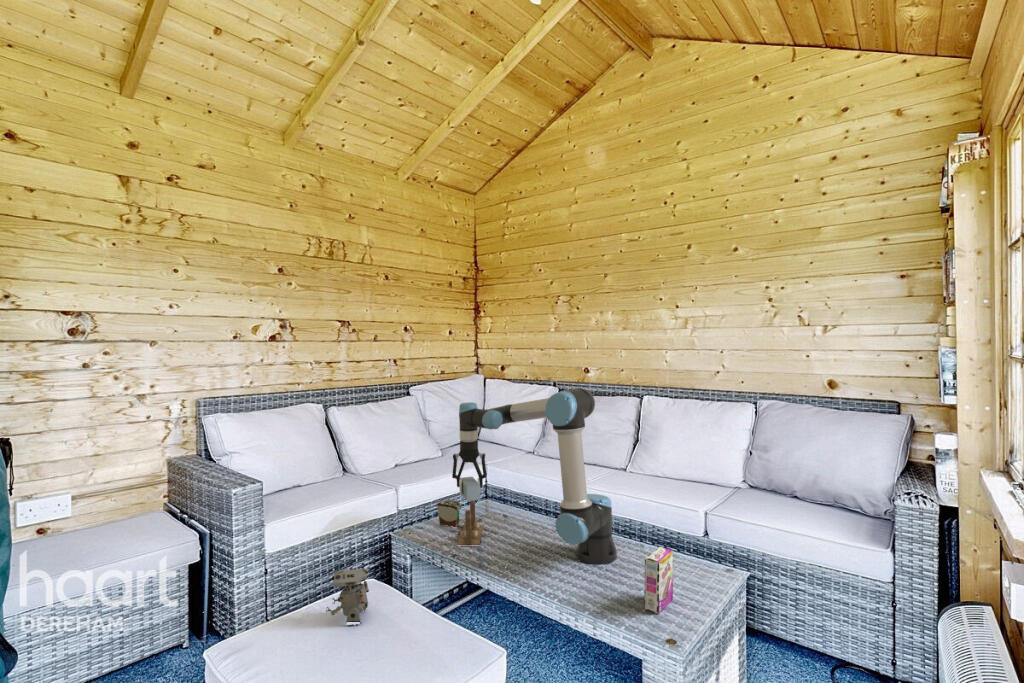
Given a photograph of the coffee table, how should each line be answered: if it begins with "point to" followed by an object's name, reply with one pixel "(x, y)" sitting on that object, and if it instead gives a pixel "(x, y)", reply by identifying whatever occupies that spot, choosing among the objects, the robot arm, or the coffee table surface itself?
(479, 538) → the peg stand
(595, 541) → the robot arm
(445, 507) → the food container
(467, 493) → the shelf board
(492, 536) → the coffee table surface
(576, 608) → the coffee table surface
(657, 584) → the candy bar box
